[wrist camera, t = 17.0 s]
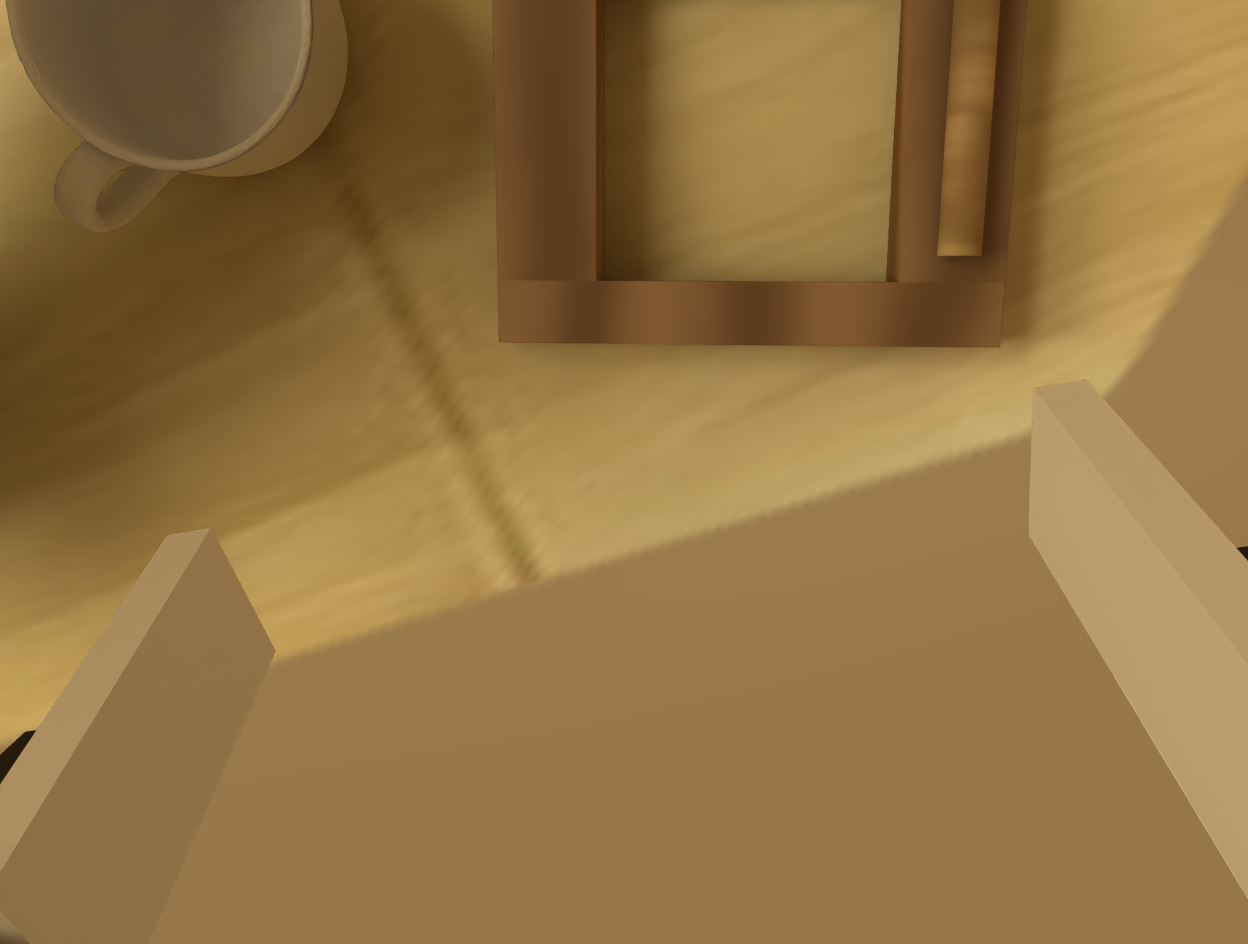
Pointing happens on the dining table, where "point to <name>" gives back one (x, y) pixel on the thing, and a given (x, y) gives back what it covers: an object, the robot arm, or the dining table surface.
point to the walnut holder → (760, 311)
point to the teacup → (178, 90)
